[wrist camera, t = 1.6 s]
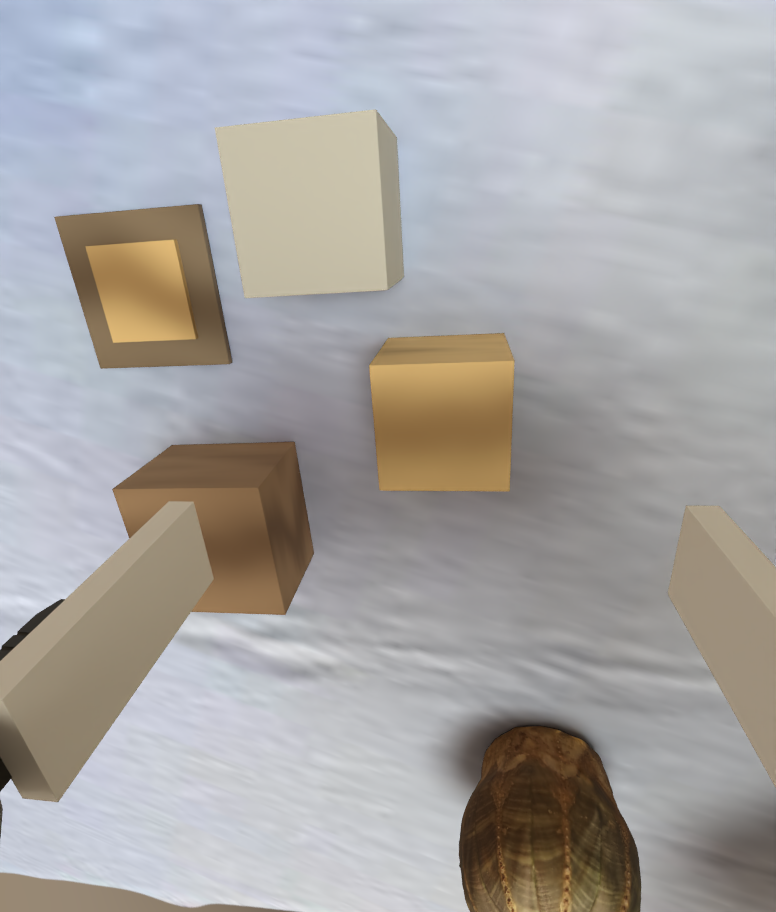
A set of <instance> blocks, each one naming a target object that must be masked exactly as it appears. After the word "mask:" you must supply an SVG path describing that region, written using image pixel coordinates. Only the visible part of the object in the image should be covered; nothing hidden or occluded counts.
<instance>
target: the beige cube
mask: <svg viewBox="0 0 776 912" xmlns="http://www.w3.org/2000/svg"><path fill="white" fill-rule="evenodd" d="M215 132H216V137H217V143H218V149H219V154H220V160H221V166H222V171H223V177H224V183H225V188H226V194H227V200H228V205H229V211H230V217H231V222H232V228H233V234H234V239H235V245H236V251H237V256H238V262H239V268H240V273H241V279H242V285H243V290H244V296H245V298H256V297H273V296H291V295H309V294H327V293H345V292H362V291H380V290H388V289H390V288H391V287H392V286H393V285H395V284H396V283H397V282H398V281H400V280H401V279H402V278H404V267H403V247H402V228H401V208H400V189H399V169H398V150H397V137H396V136H395V134H394V133H393V132H392V130H391V129H390V128H389V126H388V125H387V124H386V122H385V121H384V120H383V118H382V117H381V116H380V114H379V113H378V112H377V110H367V111H359V112H350V113H341V114H332V115H323V116H314V117H306V118H297V119H288V120H279V121H270V122H262V123H253V124H244V125H235V126H226V127H217V128H215Z"/></svg>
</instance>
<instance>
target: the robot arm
mask: <svg viewBox="0 0 776 912" xmlns="http://www.w3.org/2000/svg"><path fill="white" fill-rule="evenodd" d="M213 579H214V578H213V574H212V570H211V566H210V563H209V559H208V555H207V551H206V547H205V543H204V540H203V536H202V532H201V528H200V524H199V521H198V517H197V513H196V509H195V505H194V502H184V501H169V502H168V503H167V504H166V505H165V506H163V507H162V508H161V509H160V510H159V511H158V512H157V513H156V514H155V515H154V516H153V517H152V518H151V519H150V520H149V521H148V522H147V523H146V524H144V525H143V526H142V527H141V528H140V529H139V530H138V531H137V532H136V533H135V534H134V535H133V536H132V537H131V538H130V539H129V540H128V541H127V542H125V543H124V544H123V545H122V546H121V547H120V548H119V549H118V550H117V551H116V552H115V553H114V554H113V555H112V556H111V557H110V558H109V559H108V560H106V561H105V562H104V563H103V564H102V565H101V566H100V567H99V568H98V569H97V570H96V571H95V572H94V573H93V574H92V575H91V576H90V577H89V578H88V579H86V580H85V581H84V582H83V583H82V584H81V585H80V586H79V587H78V588H77V589H76V590H75V591H74V592H73V593H72V594H71V595H70V596H69V597H67V598H66V599H61V600H59V601H57V602H56V603H54V604H52V605H51V606H49V607H47V608H46V609H44V610H43V611H41V612H39V613H38V614H36V615H35V616H34V617H33V618H32V619H31V620H30V621H29V622H28V623H26V624H25V625H24V626H23V627H22V628H21V629H20V630H19V631H18V633H17V635H13V636H12V637H11V638H10V639H9V640H8V641H7V642H6V643H5V644H4V645H2V649H1V650H0V791H1V790H2V789H3V788H4V786H5V785H6V784H7V783H8V781H9V780H10V779H12V781H13V783H14V784H15V786H16V788H17V789H18V791H19V793H20V794H21V796H22V798H25V799H34V800H43V801H52V802H59V800H60V799H61V797H62V796H63V794H64V793H65V792H66V790H67V789H68V787H69V786H70V784H71V783H72V782H73V780H74V779H75V777H76V776H77V774H78V773H79V772H80V770H81V769H82V767H83V766H84V764H85V763H86V761H87V760H88V759H89V757H90V756H91V754H92V753H93V751H94V750H95V749H96V747H97V746H98V744H99V743H100V741H101V740H102V739H103V737H104V736H105V734H106V733H107V731H108V730H109V729H110V727H111V726H112V724H113V723H114V721H115V720H116V718H117V717H118V716H119V714H120V713H121V711H122V710H123V708H124V707H125V706H126V704H127V703H128V701H129V700H130V698H131V697H132V696H133V694H134V693H135V691H136V690H137V688H138V687H139V686H140V684H141V683H142V681H143V680H144V678H145V677H146V675H147V674H148V673H149V671H150V670H151V668H152V667H153V665H154V664H155V663H156V661H157V660H158V658H159V657H160V655H161V654H162V653H163V651H164V650H165V648H166V647H167V645H168V644H169V643H170V641H171V640H172V638H173V637H174V635H175V634H176V632H177V631H178V630H179V628H180V627H181V625H182V624H183V622H184V621H185V620H186V618H187V617H188V615H189V614H190V612H191V611H192V610H193V608H194V607H195V605H196V604H197V602H198V601H199V600H200V598H201V597H202V595H203V594H204V592H205V591H206V589H207V588H208V587H209V585H210V584H211V582H212V581H213ZM668 595H669V597H670V599H671V601H672V603H673V604H674V606H675V608H676V610H677V612H678V613H679V615H680V617H681V619H682V620H683V622H684V624H685V626H686V628H687V629H688V631H689V633H690V635H691V637H692V638H693V640H694V642H695V644H696V646H697V647H698V649H699V651H700V653H701V654H702V656H703V658H704V660H705V662H706V663H707V665H708V667H709V669H710V671H711V672H712V674H713V676H714V678H715V680H716V681H717V683H718V685H719V687H720V689H721V690H722V692H723V694H724V696H725V697H726V699H727V701H728V703H729V705H730V706H731V708H732V710H733V712H734V714H735V715H736V717H737V719H738V721H739V723H740V724H741V726H742V728H743V730H744V732H745V733H746V735H747V737H748V739H749V740H750V742H751V744H752V746H753V748H754V749H755V751H756V753H757V755H758V757H759V758H760V760H761V762H762V764H763V766H764V767H765V769H766V771H767V773H768V775H769V776H770V778H771V780H772V782H773V783H774V785H775V787H776V567H775V566H774V565H773V564H772V563H771V562H770V560H769V559H768V558H767V557H766V556H765V555H764V554H763V553H762V552H761V551H760V550H759V548H758V547H757V546H756V545H755V544H754V543H753V542H752V541H751V540H750V539H749V538H748V536H747V535H746V534H745V533H744V532H743V531H742V530H741V529H740V528H739V527H738V526H737V524H736V523H735V522H734V521H733V520H732V519H731V518H730V517H729V516H728V515H727V514H726V512H725V511H724V510H723V509H722V508H721V507H720V506H686V508H685V512H684V517H683V522H682V527H681V532H680V537H679V541H678V546H677V551H676V556H675V561H674V566H673V570H672V575H671V580H670V585H669V590H668ZM2 811H3V809H2V804H1V800H0V837H1V824H2Z"/></svg>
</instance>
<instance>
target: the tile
mask: <svg viewBox="0 0 776 912" xmlns="http://www.w3.org/2000/svg"><path fill="white" fill-rule="evenodd" d="M54 218H55V221H56V224H57V227H58V231H59V234H60V237H61V241H62V244H63V247H64V250H65V254H66V257H67V260H68V263H69V267H70V270H71V273H72V276H73V280H74V283H75V286H76V290H77V293H78V296H79V299H80V303H81V306H82V309H83V312H84V316H85V319H86V322H87V325H88V329H89V332H90V335H91V339H92V342H93V345H94V348H95V352H96V355H97V358H98V361H99V365H100V368H129V367H158V366H187V365H216V364H230V363H232V358H231V353H230V348H229V343H228V337H227V332H226V327H225V322H224V317H223V312H222V307H221V302H220V297H219V292H218V286H217V281H216V276H215V271H214V266H213V261H212V256H211V251H210V246H209V240H208V235H207V230H206V225H205V220H204V215H203V210H202V205H200V204H195V205H184V206H173V207H161V208H150V209H138V210H127V211H116V212H104V213H93V214H82V215H70V216H59V217H54Z"/></svg>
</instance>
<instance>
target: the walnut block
mask: <svg viewBox="0 0 776 912" xmlns="http://www.w3.org/2000/svg"><path fill="white" fill-rule="evenodd" d="M112 490H113V492H114V495H115V498H116V501H117V504H118V507H119V510H120V513H121V516H122V518H123V521H124V524H125V527H126V530H127V533H128V536H129V539H130V538H131V537H132V536H133V535H134V534H135V533H136V532H137V531H138V530H139V529H140V528H141V527H142V526H143V525H144V524H146V523H147V522H148V521H149V520H150V519H151V518H152V517H153V516H154V515H155V514H156V513H157V512H158V511H159V510H160V509H161V508H162V507H163V506H165V505H166V504H167V503H168V502H169V501H184V502H194V505H195V509H196V513H197V517H198V521H199V524H200V528H201V532H202V536H203V540H204V543H205V547H206V551H207V555H208V559H209V563H210V566H211V570H212V574H213V578H214V579H213V581H212V582H211V584H210V585H209V587H208V588H207V589H206V591H205V592H204V594H203V595H202V597H201V598H200V600H199V601H198V602H197V604H196V605H195V607H194V608H193V610H192V611H191V612H215V613H245V614H276V615H285V614H286V612H287V610H288V608H289V606H290V604H291V602H292V599H293V597H294V595H295V593H296V591H297V589H298V586H299V584H300V582H301V580H302V578H303V576H304V574H305V571H306V569H307V567H308V565H309V563H310V561H311V559H312V556H313V554H314V550H313V545H312V539H311V533H310V527H309V522H308V516H307V510H306V504H305V499H304V493H303V487H302V481H301V475H300V470H299V464H298V458H297V452H296V447H295V442H270V443H232V444H194V445H171V446H170V447H169V448H167V449H166V450H165V451H163V452H162V453H161V454H159V455H158V456H157V457H155V458H154V459H153V460H151V461H150V462H148V463H147V464H146V465H144V466H143V467H142V468H140V469H139V470H138V471H136V472H135V473H134V474H132V475H131V476H130V477H128V478H127V479H125V480H124V481H123V482H121V483H120V484H119V485H117V486H116V487H115V488H113V489H112Z"/></svg>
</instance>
